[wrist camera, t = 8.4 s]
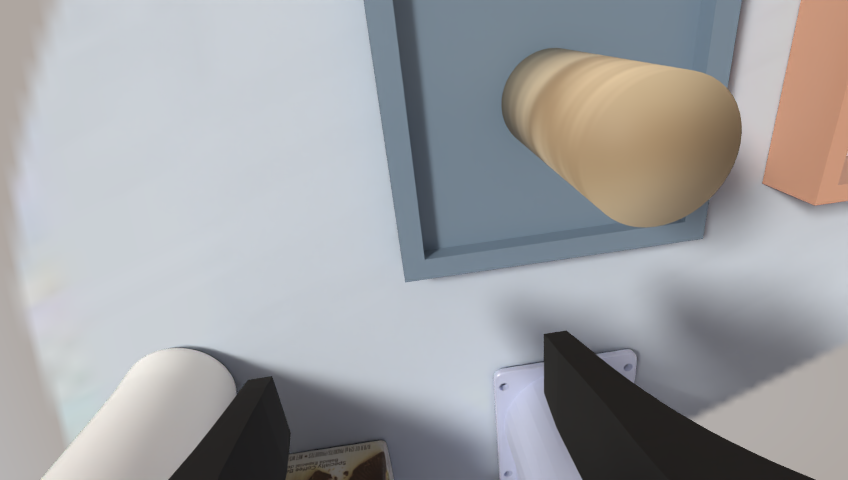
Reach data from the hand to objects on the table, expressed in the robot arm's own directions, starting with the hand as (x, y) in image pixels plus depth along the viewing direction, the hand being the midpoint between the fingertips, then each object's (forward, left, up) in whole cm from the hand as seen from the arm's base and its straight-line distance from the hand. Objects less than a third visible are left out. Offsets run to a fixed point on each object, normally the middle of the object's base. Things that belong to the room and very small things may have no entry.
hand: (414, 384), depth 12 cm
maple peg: (+5, -7, -10) cm, 13 cm away
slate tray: (+5, -7, -10) cm, 14 cm away
